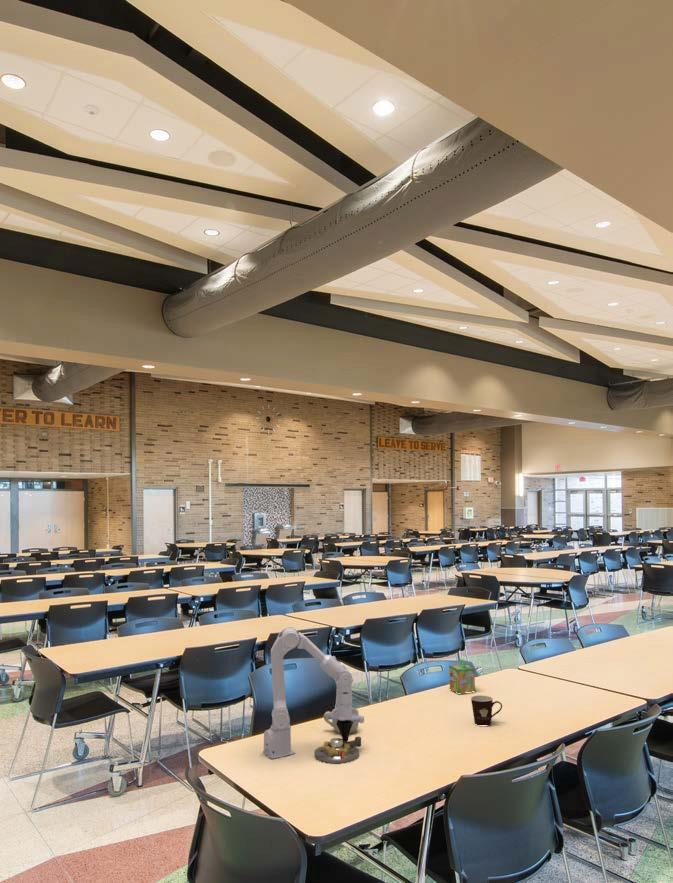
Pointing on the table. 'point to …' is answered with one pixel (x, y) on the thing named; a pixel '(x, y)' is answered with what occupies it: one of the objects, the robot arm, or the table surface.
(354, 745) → the gold handled ring
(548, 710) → the table surface
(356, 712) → the teacup
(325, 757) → the cap plate
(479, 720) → the coffee mug
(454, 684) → the green patterned box
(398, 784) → the table surface
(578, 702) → the table surface
